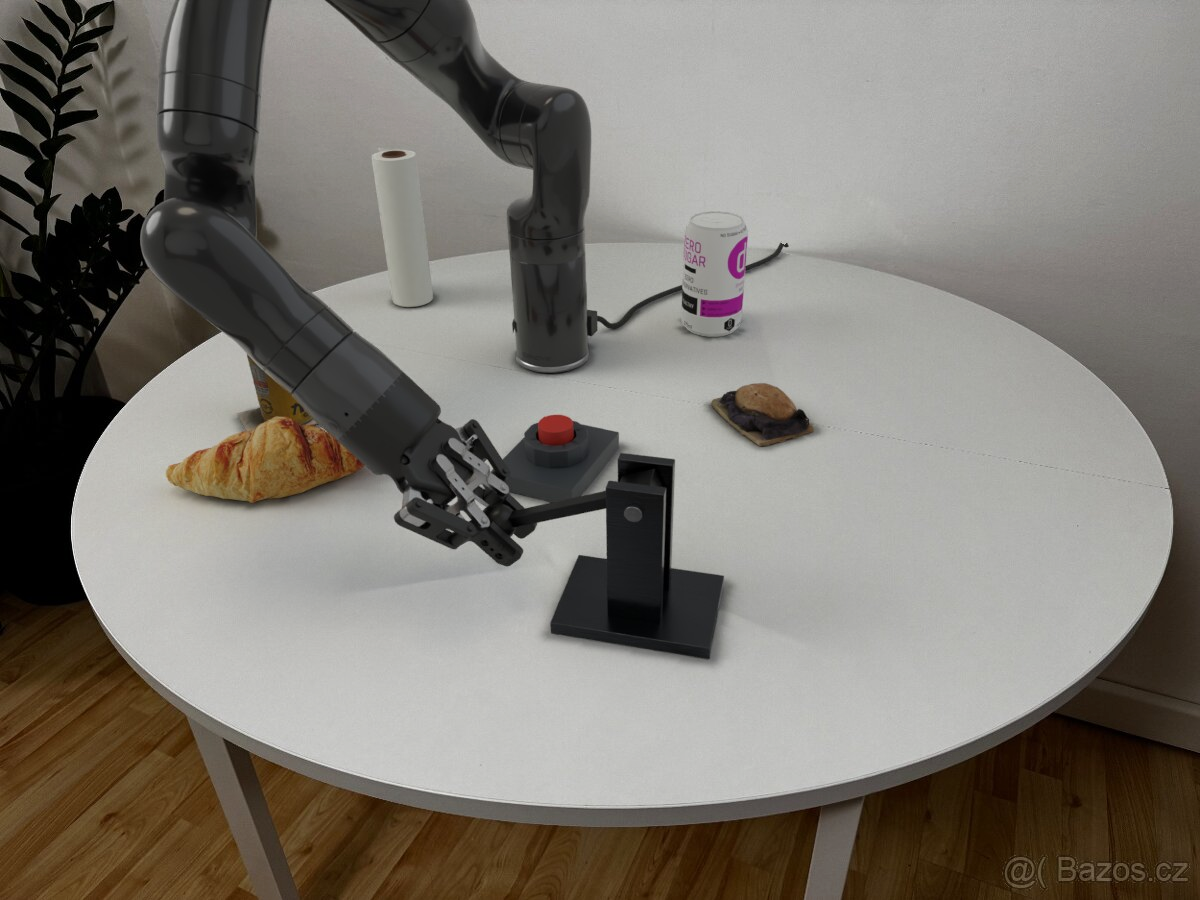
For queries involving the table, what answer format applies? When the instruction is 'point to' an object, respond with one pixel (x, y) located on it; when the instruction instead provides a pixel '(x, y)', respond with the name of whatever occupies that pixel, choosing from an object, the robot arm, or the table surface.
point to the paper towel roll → (403, 226)
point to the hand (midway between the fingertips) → (522, 544)
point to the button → (555, 430)
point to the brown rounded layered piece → (762, 414)
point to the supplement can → (713, 273)
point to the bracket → (640, 575)
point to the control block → (559, 463)
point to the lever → (560, 505)
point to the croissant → (265, 463)
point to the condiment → (271, 402)
